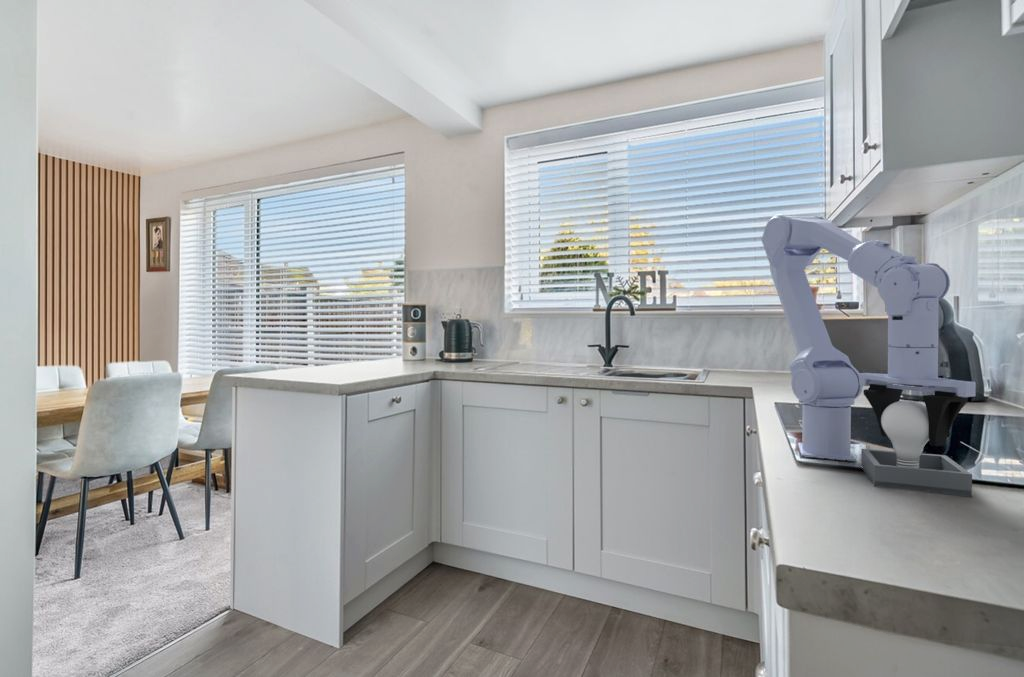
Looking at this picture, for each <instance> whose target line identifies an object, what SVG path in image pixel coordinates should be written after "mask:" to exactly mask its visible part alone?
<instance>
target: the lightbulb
mask: <svg viewBox="0 0 1024 677" xmlns="http://www.w3.org/2000/svg"><path fill="white" fill-rule="evenodd" d="M881 424H882V428H883V430H884V431H885V433H886V434H887V436H886V437H888V439H889V440H890V442H891V443H892V448H893V451H895V453H896V458H897V459H896V460H897V462H896V463H897V464H896V466H901V467H912V468H919V461H920V456H921V454H923V451H924V447H925V445H926V444H927V443H928V442H929V420H928V413H927V409H926V405H925V404H923V403H920V402H918V401H914V400H905V399H904V400H899V401H897V402H894V403H892V404H890V405H889V406H888V407H887V408H886V409H885V410H884V411H883V413H882V416H881Z"/></svg>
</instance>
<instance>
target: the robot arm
mask: <svg viewBox="0 0 1024 677" xmlns="http://www.w3.org/2000/svg"><path fill="white" fill-rule="evenodd" d="M760 240H761V242H762V245H763V248H764V251H765V254H766V257H767V259H768V260H767V261H768V264H769V269H770V275H771V278H772V280H773V284H774V286H775V289H776V290H775V291H776V293H777V296H778V298H779V301H780V304H781V307H782V309H783V312H784V316H785V318H786V321H787V325H788V327H789V330H790V334H791V336H792V339H793V342H794V344H795V348H796V351H797V354H798V355H797V356H796V357H795V358H794V360H792V361H791V363H790V365H789V371H790V375H791V384H790V385H791V389H792V392H793V395H794V396H795V398H797V399H798V403H799V404H802V411H801V412H802V419H801V420H802V422H801V424H802V431H801V432H802V433H801V434H802V439H801V440H802V441H801V442H798V444H797V446H798V450H799V453H801V454H800V456H801V455H802V456H801V457H803V456H809V457H808V458H813V457H818V458H817V459H824V458H830V459H829V460H835V459H836V461H837V460H838V461H846V460H847V462H857V457H856V456H855V455H854V453H853V452H852V450H851V438H852V436H851V435H852V434H851V428H852V427H851V423H852V422H851V421H852V420H851V418H852V417H851V416H852V411H851V410H852V408H851V406H853V405H855V400H856V399H857V398H859V397H860V395H861V394H862V391H863V395H864V397H865V399H867V401H868V403H869V404H870V406H871V408H872V411H873V412H874V414H875V417H876V420H877V423H878V426H879V430H880V433H881V434H880V435H881V437H888V436H887V434H886V433H885V431H884V430H883V428H882V424H881V416H882V413H883V411H884V410H885V409H886V408H887V407H888V406H889V405H890V404H892V403H894V402H897V401H901V400H900V399H901V397H902V394H903V391H904V390H905V391H911V392H913V391H914V392H922V393H930V394H926V395H923V396H922V399H923V401H924V405H925V406H926V409H927V413H928V420H929V441H928V442H929V446H931V447H932V446H933V447H943V446H946V443H947V439H948V435H949V433H950V430H951V428H952V425H953V424H954V422H955V420H956V418H957V417H958V415H959V414H960V411H961V410H962V409H963V408H964V407H965V405H966V404H967V403H968V399H969V398H970V397H971V398H972V397H976V393H977V392H976V386H977V384H976V383H977V382H976V381H968V380H967V381H966V380H960V379H959V380H958V379H950V378H945V377H944V378H943V377H939V374H938V373H939V363H938V362H939V317H940V315H939V306H940V305H939V304H940V302H939V301H941V300H943V298H945V296H946V295H947V293H948V292H949V289H950V285H951V279H950V275H949V273H948V272H947V270H945V268H943V267H941V266H940V265H939V264H938V263H935V262H933V263H931V262H927V263H926V262H925V263H921V264H920V263H918V261H916V256H914V255H912V254H903V253H901V252H899V251H897V250H895V249H894V248H891V247H890V246H891V242H889V241H887V240H883V239H880V240H879V239H877V240H868V241H865V242H863V241H861V240H859V239H857V237H854V236H853V235H851V234H850V233H848V232H847V231H845V230H843V229H842V228H840V227H839V226H837V225H836V224H834V221H833V220H831V219H827V218H825V217H823V216H821V215H815V216H802V215H801V216H799V215H785V214H776V215H773V216H772V217H771V218H769V220H768V221H767V223H766V225H765V227H764V230H763V234H762V237H761V239H760ZM823 249H824V250H825V251H828V252H830V253H831V254H833V255H835V256H837V257H839V258H841V259H844V260H845V261H847V267H848V270H849V271H850V272H851V273H852V274H854V275H856V276H857V277H858V278H861V279H862V280H863V281H865V282H867V283H869V284H870V285H872V286H874V288H877V292H878V295H879V297H880V298H881V300H882V301H883V303H884V313H885V312H886V315H887V317H888V318H887V320H888V322H887V373H874V372H873V373H872V372H862V373H860V372H859V371H858V370H857V369H856V368H855V367H854V365H853V364H852V363H851V360H850V357H849V356H848V355H847V354H845V353H843V352H842V351H841V350H839V349H837V348H836V347H835V346H833V343H832V341H831V338H830V335H829V332H828V330H827V327H826V324H825V322H824V320H823V317H822V314H821V312H820V309H819V307H818V304H817V301H816V298H815V295H814V293H813V290H812V288H811V285H810V283H809V279H808V277H807V274H806V269H807V267H809V266H811V265H812V264H813V262H814V261H815V259H816V258H817V256H818V255H819V254H820V252H821V251H822V250H823ZM863 386H864V387H868V388H867V389H864V390H863V388H864V387H863ZM919 386H922V387H919ZM931 393H932V394H931Z"/></svg>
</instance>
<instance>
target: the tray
mask: <svg viewBox="0 0 1024 677" xmlns="http://www.w3.org/2000/svg"><path fill="white" fill-rule="evenodd" d="M860 450H861V453H860V454H861V456H860V458H861V460H860V461H861V462H860V467H861V466H862V467H863V469H862V471H863V472H864V473H865V475H866V476H867V478H868V480H869V481H870V482H871V485H873V486H874V487H877V488H886V489H887V488H888V489H893V490H895V489H896V490H904V491H913V492H923V493H929V494H930V493H933V494H941V495H952V496H958V497H959V496H961V497H966V498H972V497H973V474H972V473H971V472H969V471H968V470H967V469H965V468H964V467H963V466H961V465H960V464H958V463H957V462H956V461H954V460H953V459H952V458H951V457H949V456H948V455H947V454H946V455H945V454H944V455H943V454H933V453H922V454H921V456H920V461H919V468H912V467H901V466H896V464H897V463H896V462H897V460H896V459H897V458H896V453H895V451H894V450H886V449H885V450H884V449H883V450H882V449H873V448H860Z"/></svg>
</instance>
